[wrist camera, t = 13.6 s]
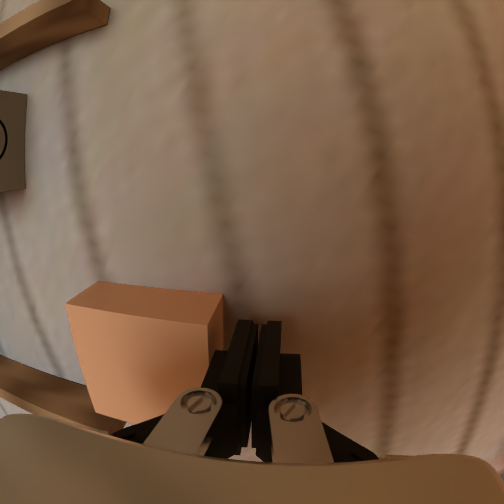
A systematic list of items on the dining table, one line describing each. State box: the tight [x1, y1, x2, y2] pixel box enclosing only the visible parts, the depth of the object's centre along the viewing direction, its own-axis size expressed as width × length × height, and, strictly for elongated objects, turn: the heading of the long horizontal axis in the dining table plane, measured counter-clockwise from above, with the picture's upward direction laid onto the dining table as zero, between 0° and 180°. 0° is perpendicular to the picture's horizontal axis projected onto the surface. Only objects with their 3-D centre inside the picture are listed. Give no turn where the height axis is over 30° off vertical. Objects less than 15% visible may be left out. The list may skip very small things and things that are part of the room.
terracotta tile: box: [65, 281, 223, 424], centre depth 13 cm, size 6×6×3 cm
